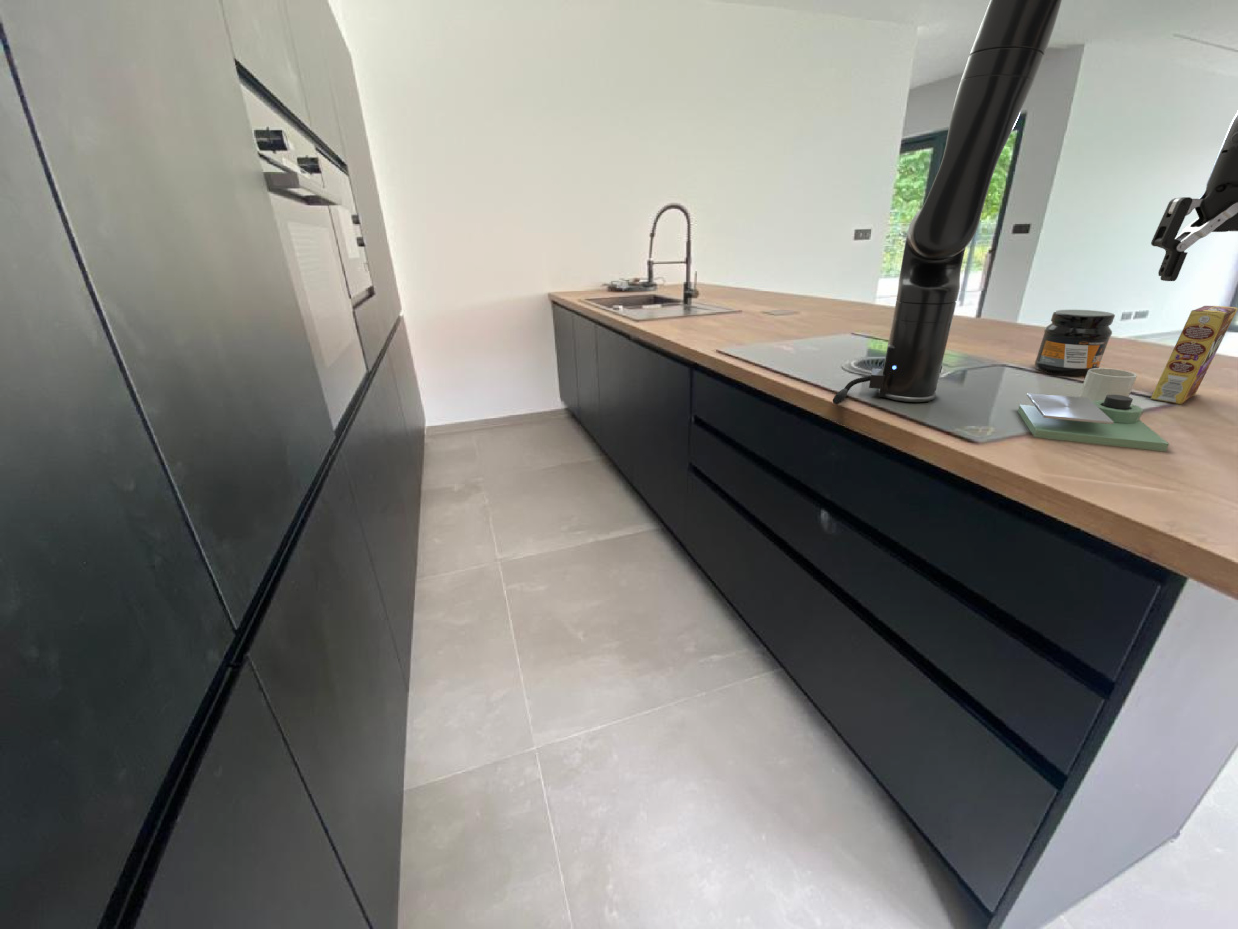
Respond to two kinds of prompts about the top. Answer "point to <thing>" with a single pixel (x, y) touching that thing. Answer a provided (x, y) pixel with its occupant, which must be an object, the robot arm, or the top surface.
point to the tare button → (1117, 402)
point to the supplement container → (1074, 342)
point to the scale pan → (1068, 408)
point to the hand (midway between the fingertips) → (1206, 280)
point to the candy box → (1193, 353)
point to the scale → (1096, 428)
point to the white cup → (1107, 383)
